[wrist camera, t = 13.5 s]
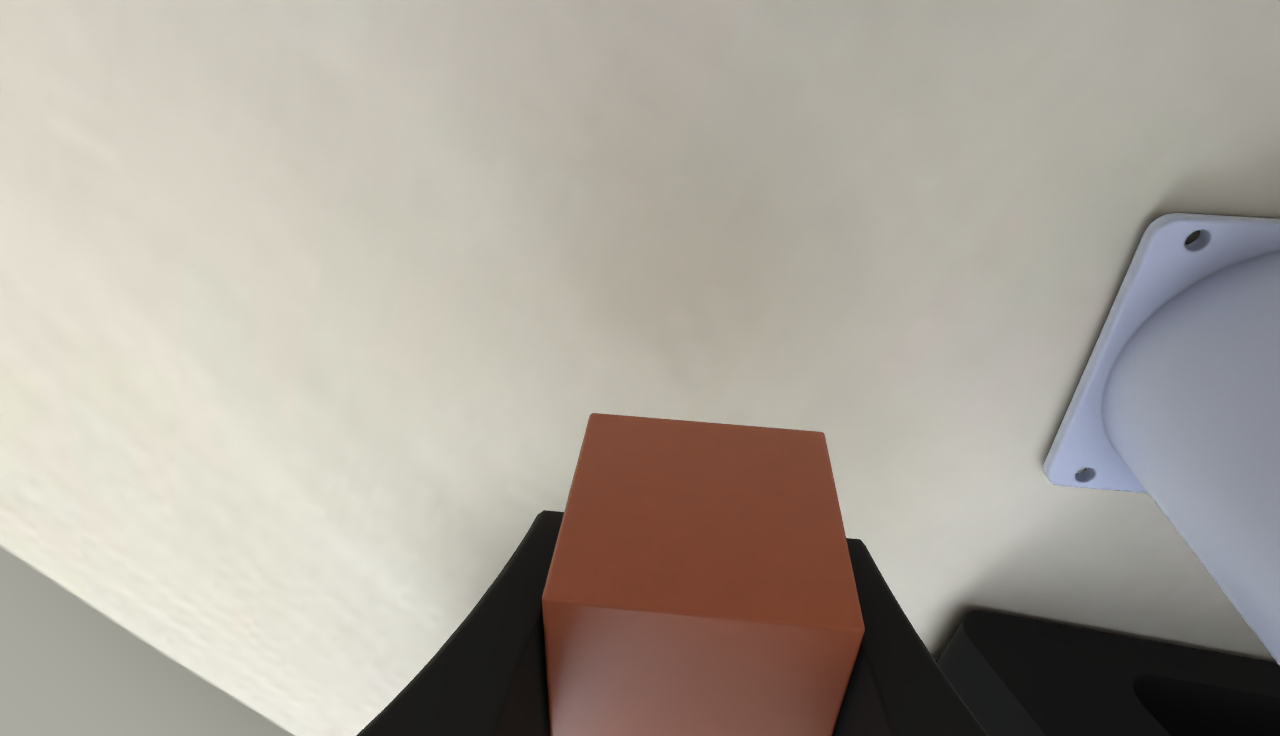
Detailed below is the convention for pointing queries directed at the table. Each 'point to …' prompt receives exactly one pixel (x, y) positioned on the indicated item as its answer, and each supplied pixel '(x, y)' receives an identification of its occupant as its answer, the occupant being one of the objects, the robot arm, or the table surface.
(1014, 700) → the device stand
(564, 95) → the table surface
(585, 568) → the block
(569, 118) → the table surface
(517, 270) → the table surface
